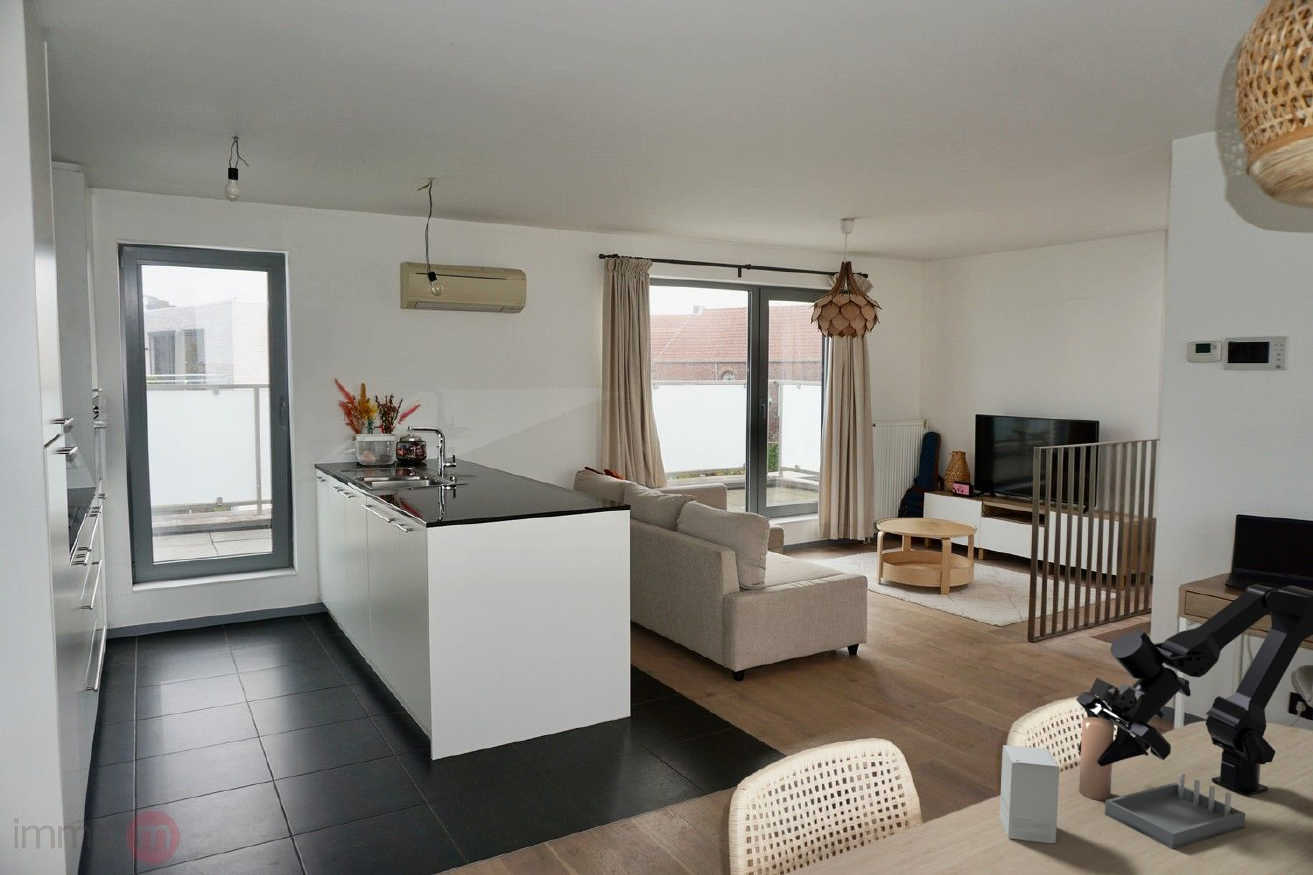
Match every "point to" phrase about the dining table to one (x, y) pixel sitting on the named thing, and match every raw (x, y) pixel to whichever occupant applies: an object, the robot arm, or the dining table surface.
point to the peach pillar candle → (1095, 758)
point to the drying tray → (1176, 813)
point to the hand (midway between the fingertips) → (1089, 757)
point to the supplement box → (1029, 794)
